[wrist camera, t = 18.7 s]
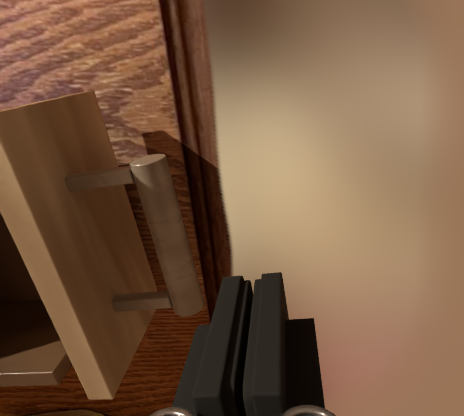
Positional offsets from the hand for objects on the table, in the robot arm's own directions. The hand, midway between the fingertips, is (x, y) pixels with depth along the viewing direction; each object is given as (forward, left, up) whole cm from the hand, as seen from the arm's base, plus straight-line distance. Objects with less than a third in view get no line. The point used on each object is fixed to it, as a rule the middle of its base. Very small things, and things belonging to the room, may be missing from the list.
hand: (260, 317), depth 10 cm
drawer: (+10, -7, -9) cm, 15 cm away
